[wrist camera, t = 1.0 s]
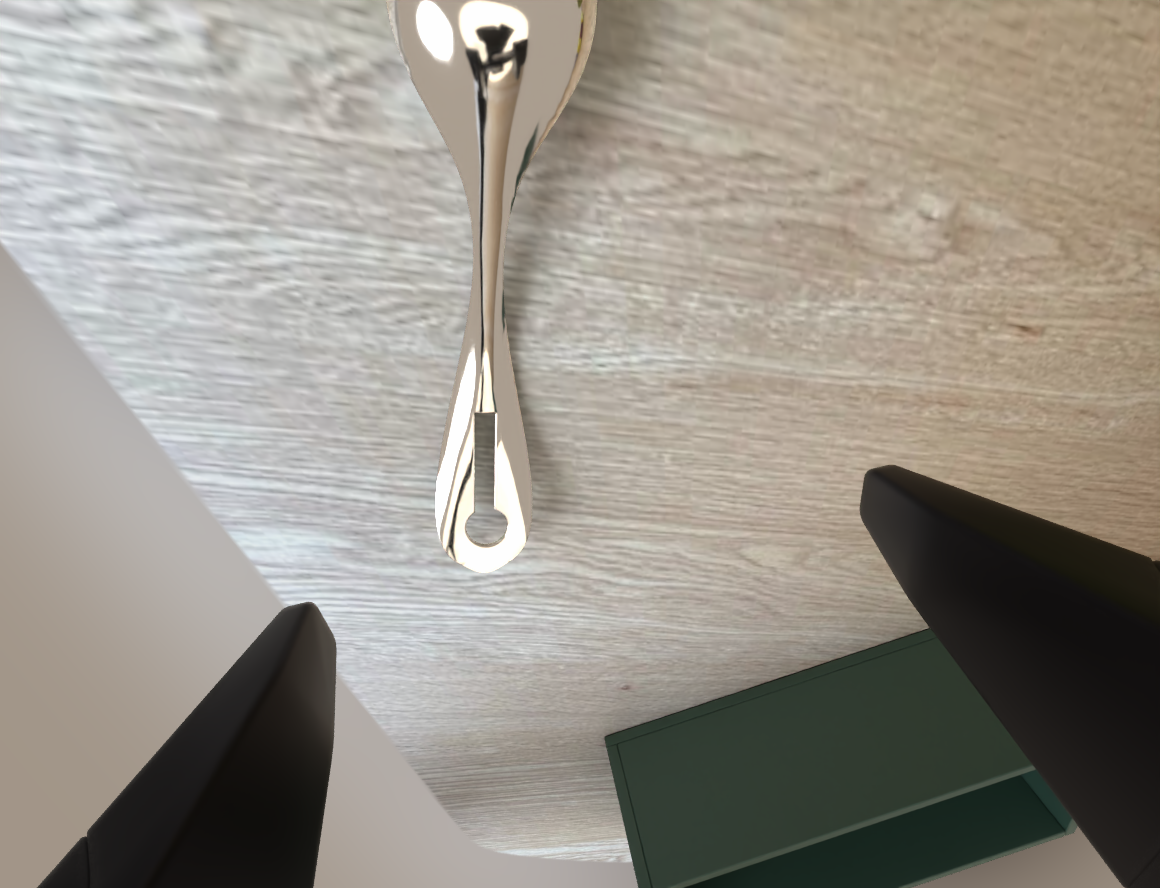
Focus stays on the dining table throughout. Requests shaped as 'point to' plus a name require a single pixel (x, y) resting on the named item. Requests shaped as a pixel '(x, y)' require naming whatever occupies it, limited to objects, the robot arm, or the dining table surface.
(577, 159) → the dining table surface
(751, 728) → the bin
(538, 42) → the silver metal spoon
